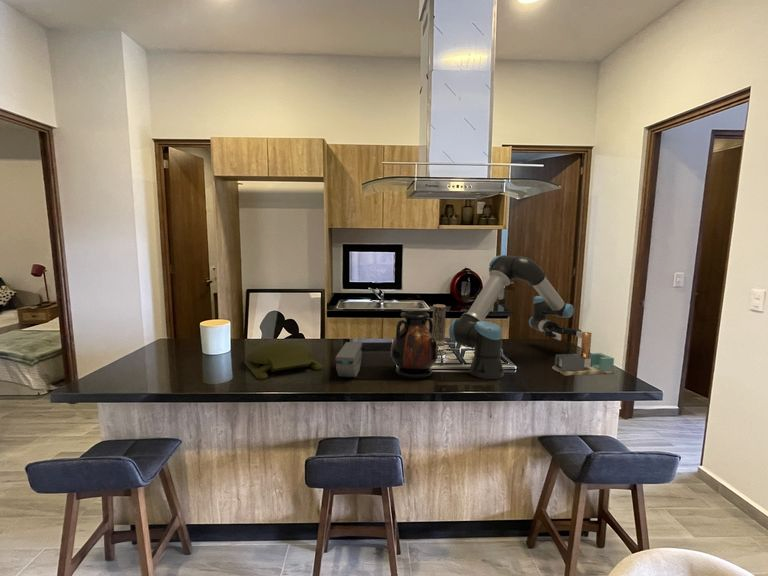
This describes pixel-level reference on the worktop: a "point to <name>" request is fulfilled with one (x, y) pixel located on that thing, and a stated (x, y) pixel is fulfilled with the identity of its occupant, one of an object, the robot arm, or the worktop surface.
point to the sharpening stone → (349, 360)
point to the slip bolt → (584, 349)
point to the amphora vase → (414, 346)
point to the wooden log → (439, 323)
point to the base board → (586, 371)
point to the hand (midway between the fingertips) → (573, 337)
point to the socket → (602, 361)
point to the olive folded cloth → (279, 358)
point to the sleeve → (570, 362)
